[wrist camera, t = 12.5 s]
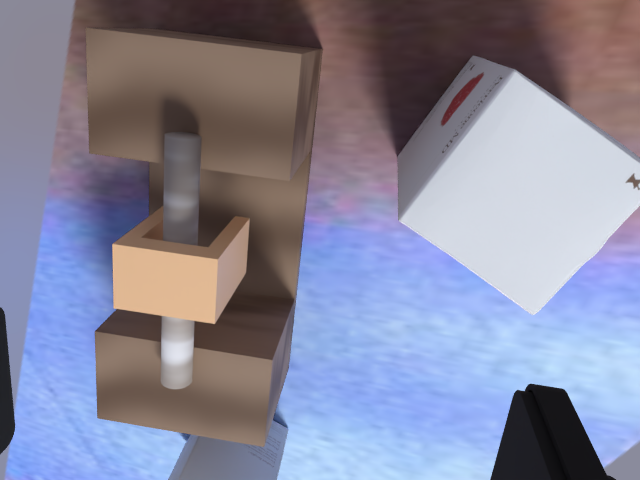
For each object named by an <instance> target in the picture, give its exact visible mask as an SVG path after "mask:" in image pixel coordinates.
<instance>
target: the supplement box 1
mask: <svg viewBox="0 0 640 480" xmlns="http://www.w3.org/2000/svg"><path fill="white" fill-rule="evenodd" d="M287 434H288V428H286V427H284V426H282V425H281V424H279V423H277V422H275V421H273V420H272V424H271V427H270V430H269V433H268V437H267V440H266V443H265V446H264V447H261V446H255V445H249V444H243V443H238V442H232V441H226V440H220V439H215V438H209V437H203V436H197V435H190V437H189V438H188V440H187V442H186V443H185V446H184V448H183V450H182V452H181V454H180V456H179V458H178V460H177V462H176V465H175V467H174V469H173V471H172V473H171V475H170V477H169V479H168V480H277V477H278V473H279V469H280V465H281V460H282V456H283V452H284V447H285V443H286V439H287Z"/></svg>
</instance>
